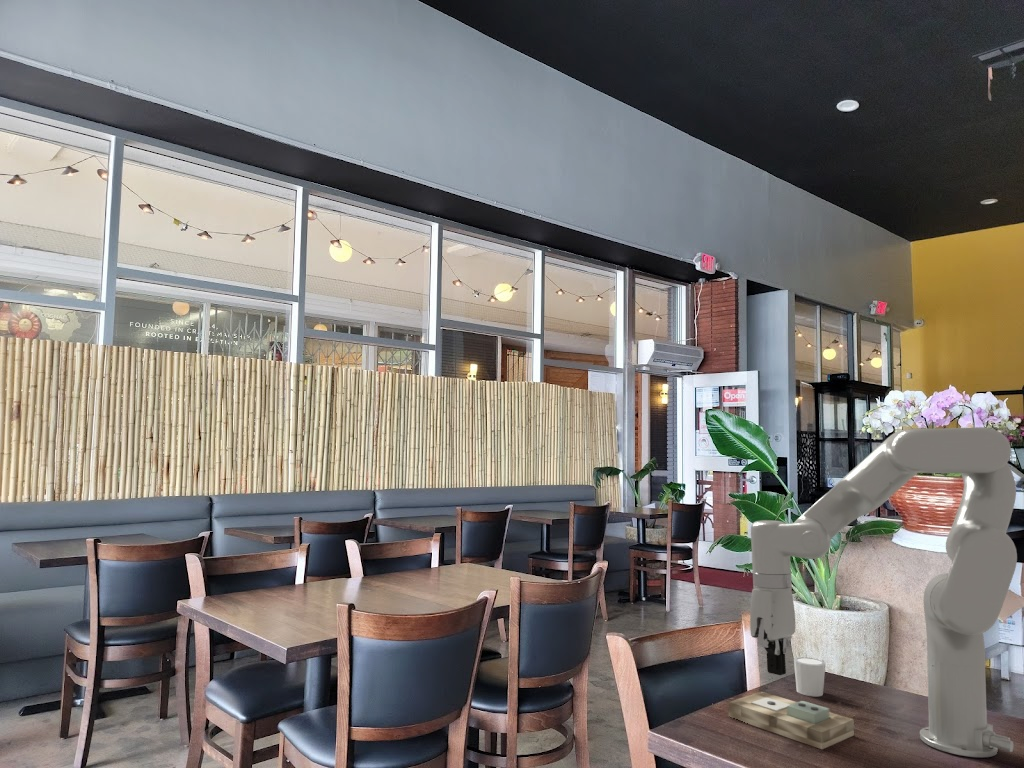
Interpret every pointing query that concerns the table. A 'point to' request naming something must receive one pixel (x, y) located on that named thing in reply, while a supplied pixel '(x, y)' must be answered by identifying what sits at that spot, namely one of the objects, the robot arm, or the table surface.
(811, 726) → the tile board
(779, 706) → the one dot tile
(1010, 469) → the robot arm
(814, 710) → the two dot tile
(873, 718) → the table surface
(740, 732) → the table surface
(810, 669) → the white cup
